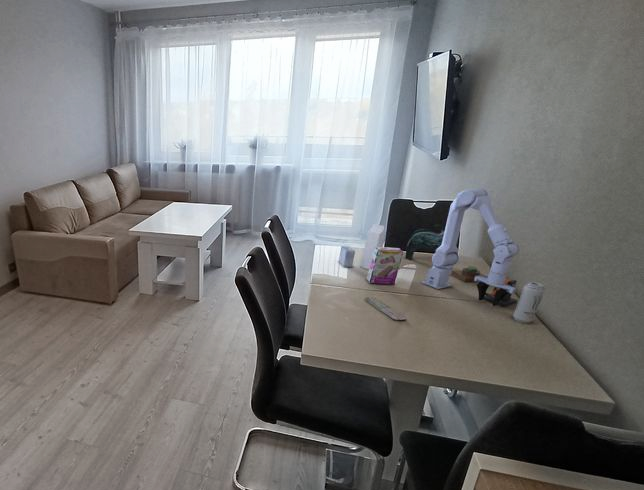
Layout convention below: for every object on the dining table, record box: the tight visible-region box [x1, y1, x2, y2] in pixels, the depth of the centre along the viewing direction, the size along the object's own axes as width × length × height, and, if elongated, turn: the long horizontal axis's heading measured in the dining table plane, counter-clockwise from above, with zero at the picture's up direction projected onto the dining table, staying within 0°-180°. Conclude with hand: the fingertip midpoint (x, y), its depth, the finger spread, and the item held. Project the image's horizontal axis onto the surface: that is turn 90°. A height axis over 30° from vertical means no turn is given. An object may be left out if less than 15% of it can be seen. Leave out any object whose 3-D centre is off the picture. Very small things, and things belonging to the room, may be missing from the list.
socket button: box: [466, 265, 478, 272], centre depth 195 cm, size 4×4×2 cm
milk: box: [360, 223, 387, 271], centre depth 202 cm, size 6×6×22 cm
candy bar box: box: [366, 246, 404, 286], centre depth 186 cm, size 11×5×16 cm, turn 84°
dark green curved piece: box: [404, 224, 445, 260], centre depth 213 cm, size 20×6×20 cm, turn 58°
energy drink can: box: [512, 281, 546, 324], centre depth 155 cm, size 6×6×15 cm
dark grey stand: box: [483, 279, 518, 308], centre depth 172 cm, size 10×8×10 cm
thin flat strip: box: [365, 297, 406, 321], centre depth 164 cm, size 5×20×1 cm, turn 11°
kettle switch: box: [484, 278, 512, 299], centre depth 170 cm, size 11×5×2 cm, turn 115°
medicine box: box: [338, 245, 356, 268], centre depth 208 cm, size 8×4×9 cm, turn 179°
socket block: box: [450, 267, 488, 283], centre depth 196 cm, size 12×9×4 cm
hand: (487, 302), depth 170 cm, fingers closed on kettle switch, 5 cm apart
